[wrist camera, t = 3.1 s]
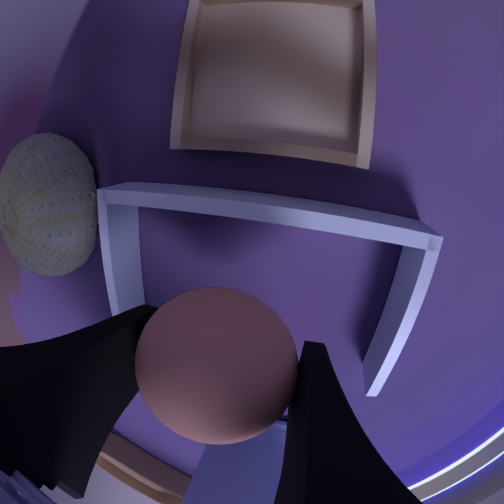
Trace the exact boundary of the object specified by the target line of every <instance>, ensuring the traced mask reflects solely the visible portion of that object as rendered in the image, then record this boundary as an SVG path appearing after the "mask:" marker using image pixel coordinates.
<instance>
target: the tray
mask: <svg viewBox="0 0 504 504" xmlns="http://www.w3.org/2000/svg"><path fill="white" fill-rule="evenodd" d="M376 75H377V41H376V18H375V4H374V0H190V1H189V5H188V10H187V15H186V20H185V25H184V30H183V36H182V41H181V47H180V54H179V60H178V67H177V74H176V82H175V91H174V100H173V110H172V121H171V134H170V149H196V150H220V151H236V152H249V153H260V154H270V155H279V156H288V157H296V158H303V159H311V160H317V161H324V162H330V163H336V164H342V165H347V166H353V167H358V168H363V169H368V170H369V165H370V157H371V148H372V139H373V128H374V116H375V100H376Z"/></svg>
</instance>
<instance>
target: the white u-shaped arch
mask: <svg viewBox="0 0 504 504" xmlns="http://www.w3.org/2000/svg"><path fill="white" fill-rule="evenodd" d="M97 203H98V219H99V232H100V242H101V251H102V259H103V267H104V274H105V280H106V286H107V292H108V297H109V303H110V308H111V313H112V317H113V316H115V315H117V314H120V313H122V312H124V311H127V310H129V309H132V308H134V307H137V306H140V305H143V304H145V298H144V289H143V279H142V269H141V256H140V241H139V218H138V206H141V207H150V208H159V209H168V210H177V211H185V212H194V213H202V214H210V215H217V216H225V217H233V218H240V219H247V220H254V221H261V222H268V223H275V224H282V225H288V226H295V227H301V228H307V229H314V230H320V231H326V232H332V233H338V234H344V235H349V236H355V237H361V238H366V239H372V240H377V241H383V242H388V243H393V244H399V245H403V247H402V251H401V255H400V258H399V262H398V266H397V269H396V272H395V276H394V279H393V282H392V285H391V289H390V292H389V295H388V298H387V301H386V304H385V306H384V309H383V312H382V315H381V318H380V320H379V323H378V326H377V328H376V331H375V333H374V336H373V338H372V341H371V343H370V346H369V348H368V350H367V353H366V355H365V357H364V360H363V362H362V368H363V375H364V384H365V392H366V396H377V395H378V393H379V391H380V390H381V388H382V386H383V385H384V383H385V381H386V379H387V377H388V376H389V374H390V372H391V370H392V368H393V366H394V364H395V363H396V361H397V359H398V357H399V355H400V353H401V351H402V349H403V346H404V344H405V342H406V340H407V338H408V336H409V334H410V331H411V329H412V327H413V324H414V322H415V320H416V317H417V315H418V312H419V310H420V308H421V305H422V302H423V300H424V297H425V294H426V292H427V289H428V286H429V283H430V280H431V277H432V274H433V271H434V268H435V265H436V262H437V258H438V255H439V252H440V248H441V244H442V241H443V237H442V236H441V235H440V234H438V233H437V232H436V231H434V230H433V229H432V228H430V227H429V226H427V225H426V224H425V223H423V222H422V221H419V220H415V219H411V218H406V217H402V216H397V215H392V214H387V213H383V212H378V211H373V210H367V209H362V208H357V207H351V206H346V205H340V204H334V203H328V202H322V201H316V200H310V199H303V198H296V197H289V196H282V195H275V194H267V193H259V192H251V191H242V190H233V189H224V188H213V187H203V186H191V185H178V184H163V183H146V182H126V183H121V184H117V185H113V186H108V187H104V188H100V189H97Z"/></svg>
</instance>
